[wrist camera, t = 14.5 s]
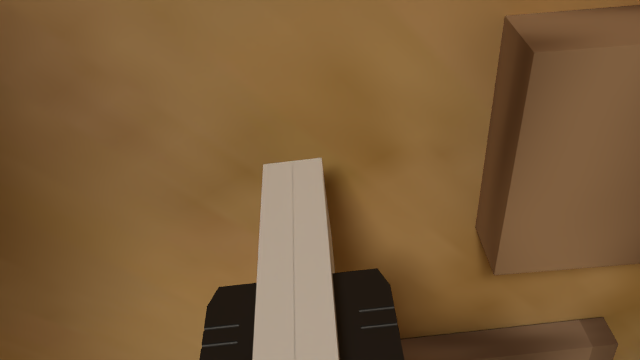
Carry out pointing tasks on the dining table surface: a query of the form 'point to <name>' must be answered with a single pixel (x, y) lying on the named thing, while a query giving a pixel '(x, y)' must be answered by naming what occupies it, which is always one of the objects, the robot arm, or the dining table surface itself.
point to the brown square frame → (520, 343)
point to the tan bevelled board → (564, 143)
